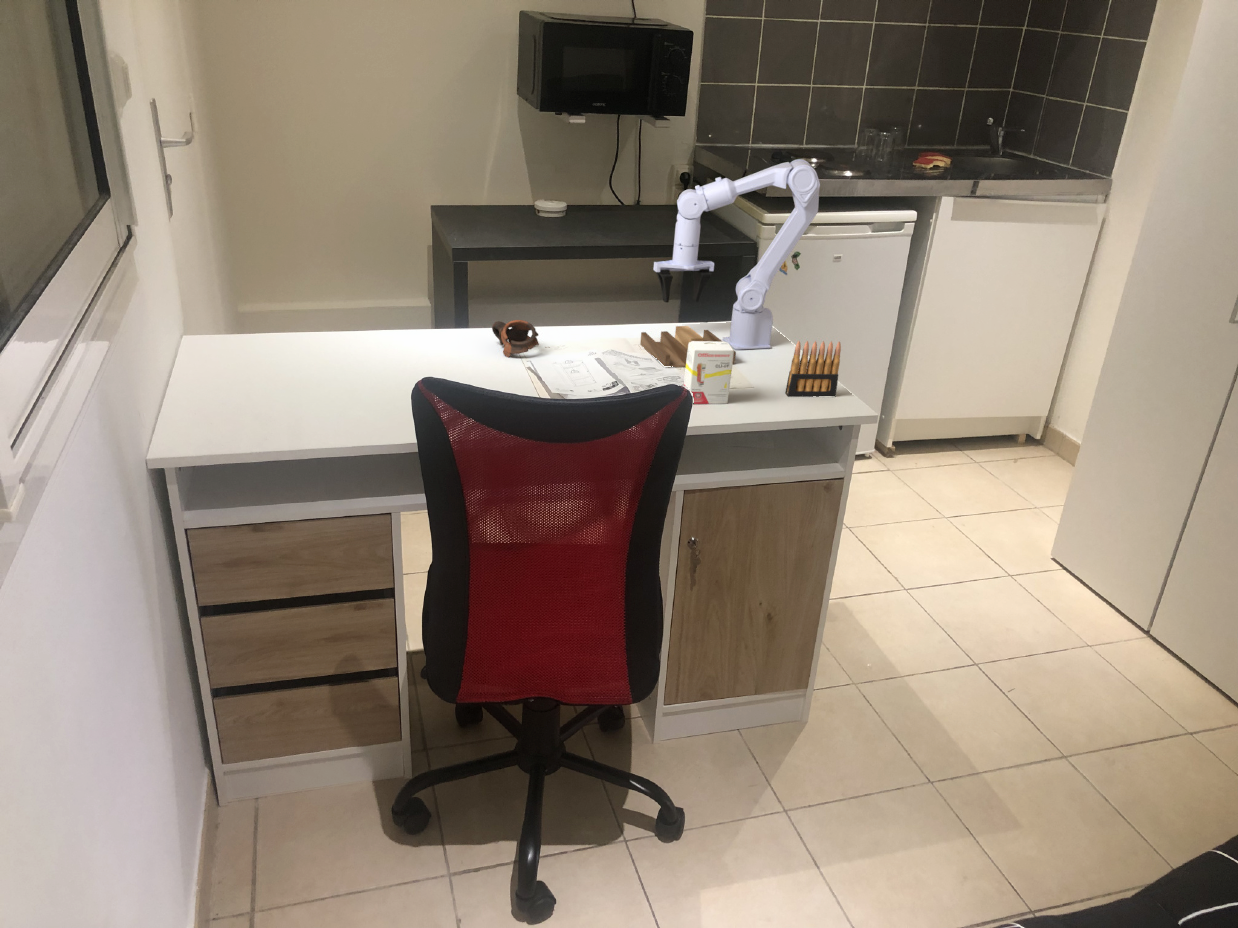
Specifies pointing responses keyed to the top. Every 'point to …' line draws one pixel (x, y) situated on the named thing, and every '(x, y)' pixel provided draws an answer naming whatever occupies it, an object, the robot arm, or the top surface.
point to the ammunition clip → (814, 372)
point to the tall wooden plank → (686, 335)
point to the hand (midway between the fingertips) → (680, 301)
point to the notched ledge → (672, 348)
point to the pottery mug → (515, 336)
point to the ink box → (709, 371)
